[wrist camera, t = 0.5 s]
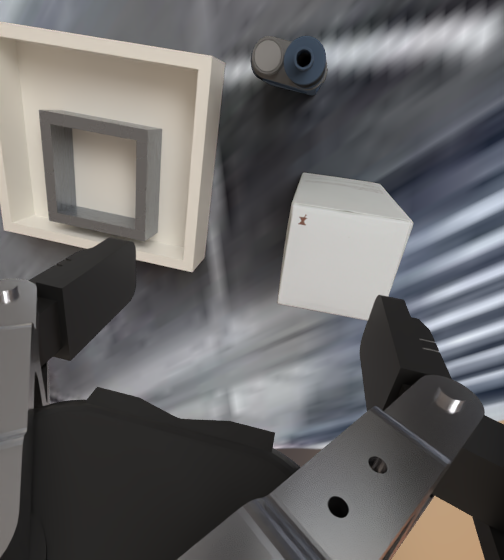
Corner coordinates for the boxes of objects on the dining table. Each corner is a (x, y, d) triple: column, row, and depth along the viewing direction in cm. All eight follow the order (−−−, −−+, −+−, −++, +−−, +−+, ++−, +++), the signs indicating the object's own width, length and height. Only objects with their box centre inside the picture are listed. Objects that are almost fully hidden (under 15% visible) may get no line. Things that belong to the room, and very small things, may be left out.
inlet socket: (61, 110, 34) (38, 109, 31) (162, 128, 33) (147, 129, 30) (68, 213, 38) (48, 220, 36) (157, 232, 37) (144, 241, 35)
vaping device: (320, 100, 30) (318, 91, 20) (260, 82, 31) (226, 65, 20) (330, 65, 29) (334, 36, 19) (269, 48, 30) (237, 9, 19)
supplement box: (288, 246, 36) (272, 305, 25) (302, 170, 33) (290, 198, 22) (362, 259, 35) (380, 326, 24) (384, 183, 32) (416, 219, 21)
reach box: (10, 28, 33) (-28, 17, 29) (225, 63, 31) (212, 56, 27) (32, 220, 40) (4, 230, 37) (204, 257, 38) (192, 272, 35)
